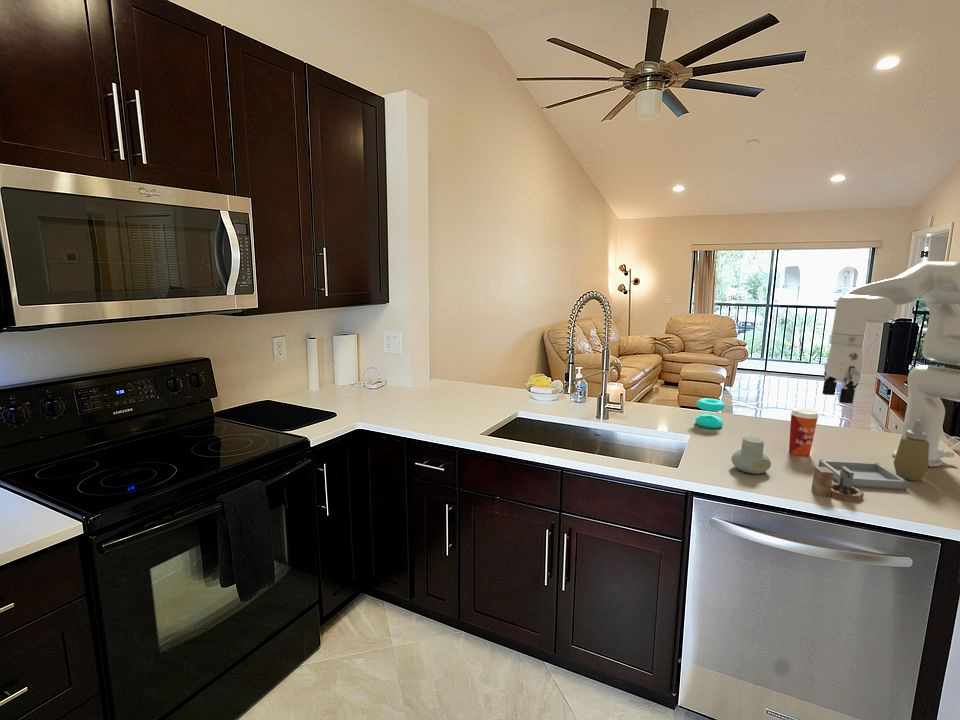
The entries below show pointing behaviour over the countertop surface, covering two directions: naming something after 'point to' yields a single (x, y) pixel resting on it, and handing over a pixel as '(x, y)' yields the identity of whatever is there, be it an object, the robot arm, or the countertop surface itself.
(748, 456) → the air freshener
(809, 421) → the coffee cup
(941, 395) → the robot arm
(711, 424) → the donuts
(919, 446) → the squeeze bottle
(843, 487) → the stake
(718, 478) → the countertop surface
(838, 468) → the tray
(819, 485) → the tabbed ring
